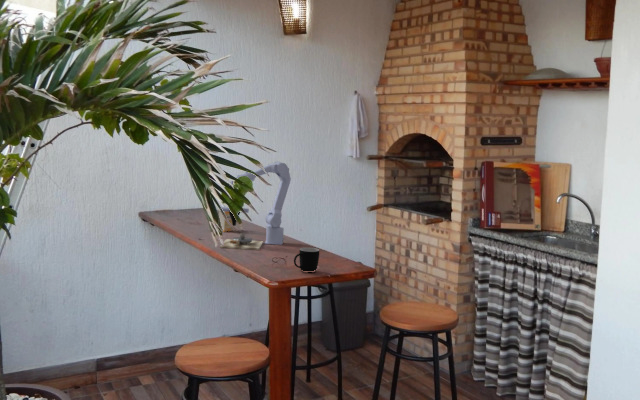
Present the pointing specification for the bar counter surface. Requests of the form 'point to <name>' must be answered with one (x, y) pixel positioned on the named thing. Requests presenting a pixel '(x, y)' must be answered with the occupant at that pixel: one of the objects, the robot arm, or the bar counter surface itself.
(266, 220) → the robot arm
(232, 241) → the flange
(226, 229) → the supplement box
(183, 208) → the bar counter surface
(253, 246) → the base
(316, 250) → the mug
